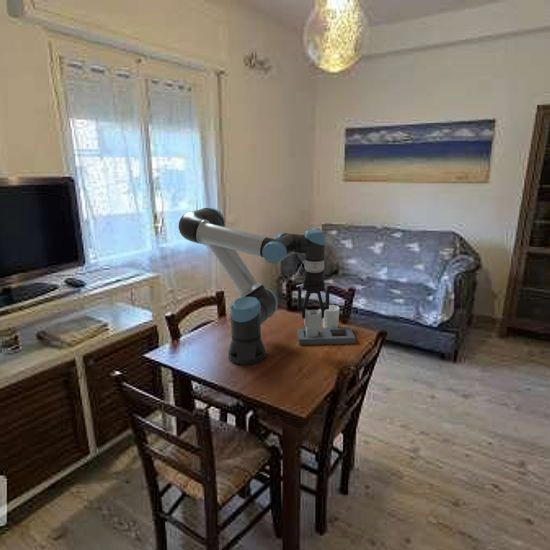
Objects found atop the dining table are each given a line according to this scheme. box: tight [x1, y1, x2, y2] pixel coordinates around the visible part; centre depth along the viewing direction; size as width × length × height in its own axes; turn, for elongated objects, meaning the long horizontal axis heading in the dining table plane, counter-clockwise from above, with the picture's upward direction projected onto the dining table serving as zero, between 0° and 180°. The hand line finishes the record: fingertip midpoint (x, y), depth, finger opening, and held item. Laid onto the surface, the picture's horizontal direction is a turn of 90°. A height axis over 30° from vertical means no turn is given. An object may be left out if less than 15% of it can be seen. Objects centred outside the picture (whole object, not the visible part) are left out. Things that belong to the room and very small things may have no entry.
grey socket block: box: [296, 326, 356, 346], centre depth 176 cm, size 24×11×6 cm, turn 92°
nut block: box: [307, 309, 321, 329], centre depth 161 cm, size 5×5×6 cm
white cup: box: [322, 304, 340, 328], centre depth 186 cm, size 8×8×10 cm
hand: (312, 325), depth 162 cm, fingers closed on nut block, 5 cm apart
